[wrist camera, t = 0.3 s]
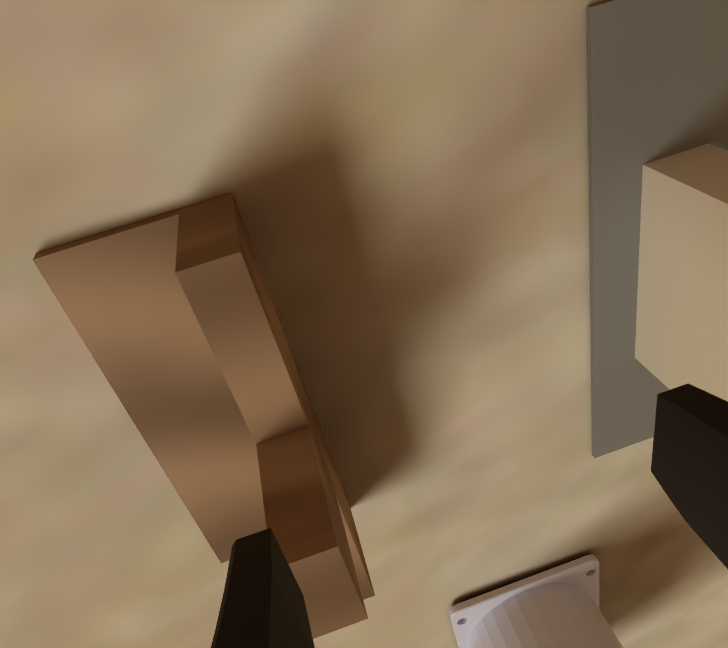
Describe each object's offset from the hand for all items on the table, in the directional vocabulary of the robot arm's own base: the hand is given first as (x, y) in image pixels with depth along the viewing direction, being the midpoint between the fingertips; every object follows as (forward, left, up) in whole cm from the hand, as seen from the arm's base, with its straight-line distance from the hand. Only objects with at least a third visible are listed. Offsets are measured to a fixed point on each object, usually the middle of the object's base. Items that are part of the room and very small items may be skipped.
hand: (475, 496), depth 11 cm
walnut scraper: (-4, +6, -10) cm, 12 cm away
